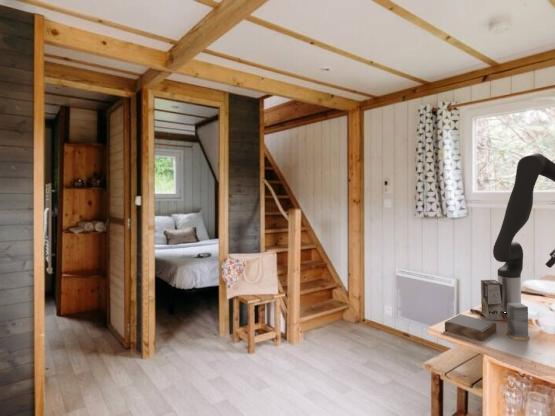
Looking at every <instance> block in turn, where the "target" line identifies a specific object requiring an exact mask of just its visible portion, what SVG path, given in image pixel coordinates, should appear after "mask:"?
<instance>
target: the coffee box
mask: <svg viewBox="0 0 555 416" xmlns="http://www.w3.org/2000/svg"><path fill="white" fill-rule="evenodd" d="M480 298H481V299H480V300H481V302H480V303H481V314H482V315H483V317H485V318H486V319H487V321H490V320H491V321H492V320H493V321H503V320H504V313H503V285H502V284H501V283H499V282H498V280H496V279H481V280H480Z"/></svg>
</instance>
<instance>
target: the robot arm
mask: <svg viewBox="0 0 555 416" xmlns="http://www.w3.org/2000/svg"><path fill="white" fill-rule="evenodd" d="M517 162H518V163H517V165H516V171H515V172H516V174H515V179H514V185H513V186H512V187H513V188H512V190H511V193H510V195H509V198H508V201H507V205H506V209H505V211H504V212H505V213H504V218H503V221H502V224H501V226H500V230H499V233H498V235H497V237H496V239H495V243H494V245H493V249H492V254H493V255H492V256H493V257H494V259H495V261H497V262H499V263H504V264H503V265H502V266H500V267H499V268H498V269H497V282H499V283H501V284H502V285H503V312H506V313H507V303H521V304H522V281H521V280H522V279H521V278H522V277H521V276H522V272H523V268H524V267H523V266H524V251H523V247H522V245H521V244H520V243H519V242H517V241H516V240H515V241H514V238H515V236H516V235H518V232H520V231H521V230H522V228H523V227H524V226H525V225H526V224H527V222H528V221H529V219H530V217H531V212H532V210H533V205H534V203H533V202H534V189H535V187H536V186H535V185H536V183H537V180H538V179H539V178H538V177H540V176H542V177H545V178H547V179H549V180H551V181H553V183H555V162H553V161H552V160H550V159H549V158H548V157H546V156H544V155H543V154H541V153H540V152H529V153H526V154H524V156H522V157H521V158H520V159H519V160H518V161H517ZM549 257H550V258H549V259H548V260H547V262H545V264H544V265H545V266H547V268H548V269H549V268H550V269H551V268H552V267H553V266H554V265H555V248H554V249H553V250H552V251H551V252H550V253H549Z"/></svg>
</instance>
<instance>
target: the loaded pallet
mask: <svg viewBox="0 0 555 416" xmlns="http://www.w3.org/2000/svg"><path fill="white" fill-rule="evenodd" d="M506 315H507V317H506V319H507V320H506V321H507V324H506V325H507V331H506V336H508V337H509V338H511V339H512V340H514V341H529V340H530V336H529V307H528V306H527V305H525V304H524V303H522V302H521V303H507V314H506Z"/></svg>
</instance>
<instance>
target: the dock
mask: <svg viewBox="0 0 555 416" xmlns="http://www.w3.org/2000/svg"><path fill="white" fill-rule="evenodd" d="M445 330H447V331H446V332H448V331H450V332H449V333H452V332H453V333H452V334H455V333H456V334H455V335H458V334H460V335H459V336H462V335H463V336H462V337H465V336H466V338H469V339H472V340H476V341H479V342H483V341H485V340H486V339H487V338H489V337H491V336H492V335H494V334H495V333H497V323H496V322H494V321H490V320H486V319H481V318H478V317H475V316H473V317H472V316H469V315H466V314H461V313H460V314H458V315H456V316H453V317H452V318H449V319H448V320H446V321H444V331H445Z"/></svg>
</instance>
